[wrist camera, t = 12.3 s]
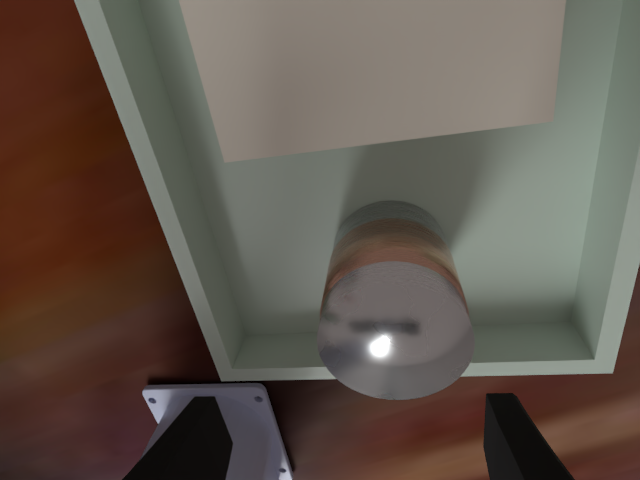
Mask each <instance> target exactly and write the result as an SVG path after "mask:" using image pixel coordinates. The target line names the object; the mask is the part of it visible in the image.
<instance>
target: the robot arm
mask: <svg viewBox="0 0 640 480" xmlns="http://www.w3.org/2000/svg"><path fill="white" fill-rule="evenodd" d="M142 394H143V396H144V398H145V400H146V402H147V404H148V406H149V408H150V410H151V411H152V413H153V415H154V417H155V419H156V421H157V423H158V426H157V428H156V429H155V431H154V433H153V435H152V437H151V439H150V441H149V443H148V445H147V447H146V448H145V450H144V452H143V454H142V456H141V458H140V460H139V462H138V463H137V464H136V465H135V466H134V467H133V468H132V470H131V471H130V472H129V473H128V474H127V475H126V476H125V477H124V478H123V479H122V480H293V472H292V469H291V466H290V463H289V460H288V456H287V453H286V450H285V447H284V444H283V441H282V438H281V434H280V431H279V428H278V425H277V422H276V419H275V416H274V412H273V409H272V406H271V403H270V400H269V397H268V393H267V390H266V388H265V386H263V385H262V384H260V383H227V384H177V385H147V386H146V387H145V388H144V390H143V391H142ZM484 452H485V457H486V462H487V467H488V472H489V477H490V480H575V479H574V478H573V477H572V475H571V474H570V473H569V472H568V470H567V469H566V468H565V466H564V465H563V464H562V462H561V461H560V460H559V458H558V457H557V456H556V454H555V453H554V452H553V450H552V449H551V447H550V446H549V445H548V443H547V442H546V440H545V439H544V437H543V436H542V435H541V433H540V432H539V430H538V429H537V427H536V426H535V424H534V423H533V421H532V420H531V418H530V417H529V415H528V414H527V412H526V411H525V409H524V408H523V406H522V404H521V403H520V401H519V399H518V398H517V396H515V395H514V394H513V393H492V394H486V408H485V427H484Z"/></svg>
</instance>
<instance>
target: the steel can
mask: <svg viewBox="0 0 640 480" xmlns="http://www.w3.org/2000/svg"><path fill="white" fill-rule="evenodd" d="M317 347H318V351H319V355H320V357H321V359H322V361H323V363H324V365H325V366H326V368H327V369H328V371H329V372H330V373H331V374H332V375H333V376H334V377H335V378H336V379H337V380H339V381H340V382H341V383H343V384H344V385H346V386H347V387H349V388H351V389H353V390H355V391H357V392H360V393H362V394H365V395H368V396H372V397H376V398H381V399H389V400H405V399H414V398H420V397H424V396H428V395H430V394H433V393H436V392H438V391H440V390H442V389H444V388H446V387H448V386H449V385H451V384H452V383H453V382H455V381H456V380H457V379H458V378H459V377H460V376H461V375H462V374H463V373H464V372H465V370H466V369H467V367H468V366H469V364H470V362H471V360H472V357H473V353H474V348H475V338H474V333H473V329H472V325H471V322H470V319H469V311H468V307H467V303H466V300H465V296H464V293H463V290H462V287H461V283H460V280H459V277H458V273H457V270H456V267H455V264H454V260H453V257H452V254H451V252H450V250H449V248H448V245H447V242H446V238H445V235H444V233H443V230H442V228H441V226H440V225H439V223H438V222H437V221H436V220H435V218H434V217H433V216H431V215H430V214H429V213H428V212H427V211H425V210H423V209H422V208H420V207H418V206H416V205H413V204H410V203H407V202H402V201H393V200H391V201H380V202H375V203H371V204H368V205H366V206H363V207H361V208H360V209H358V210H356V211H355V212H353V213H352V214H351V215H349V216H348V217H347V218H346V219H345V221H344V222H343V223H342V225H341V226H340V228H339V230H338V232H337V234H336V237H335V241H334V246H333V252H332V255H331V257H330V262H329V267H328V272H327V277H326V282H325V288H324V293H323V298H322V303H321V309H320V322H319V327H318V333H317Z"/></svg>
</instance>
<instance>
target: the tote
mask: <svg viewBox="0 0 640 480" xmlns="http://www.w3.org/2000/svg"><path fill="white" fill-rule="evenodd" d="M74 1H75V4H76V6H77V9H78V12H79V14H80V17H81V19H82V22H83V24H84V27H85V30H86V32H87V35H88V37H89V40H90V43H91V45H92V48H93V50H94V53H95V56H96V58H97V61H98V63H99V66H100V68H101V71H102V74H103V76H104V79H105V81H106V84H107V87H108V89H109V92H110V94H111V97H112V100H113V102H114V105H115V107H116V110H117V113H118V115H119V118H120V120H121V123H122V125H123V128H124V131H125V133H126V136H127V138H128V141H129V144H130V146H131V149H132V151H133V154H134V157H135V159H136V162H137V164H138V167H139V169H140V172H141V175H142V177H143V180H144V182H145V185H146V188H147V190H148V193H149V195H150V198H151V201H152V203H153V206H154V208H155V211H156V214H157V216H158V219H159V221H160V224H161V226H162V229H163V232H164V234H165V237H166V239H167V242H168V245H169V247H170V250H171V252H172V255H173V258H174V260H175V263H176V265H177V268H178V271H179V273H180V276H181V278H182V281H183V283H184V286H185V289H186V291H187V294H188V296H189V299H190V302H191V304H192V307H193V309H194V312H195V315H196V317H197V320H198V322H199V325H200V327H201V330H202V333H203V335H204V338H205V340H206V343H207V346H208V348H209V351H210V353H211V356H212V359H213V361H214V364H215V366H216V369H217V372H218V374H219V377H220V379H221V381H262V380H310V379H336V378H335V377H334V376H333V375H332V374H331V373H330V372H329V371H328V369H327V368H326V366H325V365H324V363H323V361H322V359H321V357H320V355H319V351H318V347H317V333H318V327H319V322H320V309H321V303H322V298H323V293H324V288H325V282H326V277H327V272H328V267H329V262H330V257H331V255H332V252H333V246H334V241H335V237H336V234H337V232H338V230H339V228H340V226H341V225H342V223H343V222H344V221H345V219H346V218H347V217H348V216H349V215H351V214H352V213H353V212H355V211H356V210H358V209H360V208H361V207H363V206H366V205H368V204H371V203H375V202H380V201H391V200H393V201H402V202H407V203H410V204H413V205H416V206H418V207H420V208H422V209H423V210H425V211H427V212H428V213H429V214H430V215H431V216H433V217H434V218H435V220H436V221H437V222H438V223H439V225H440V226H441V228H442V230H443V233H444V235H445V238H446V242H447V245H448V248H449V250H450V252H451V254H452V257H453V260H454V264H455V267H456V270H457V273H458V277H459V280H460V283H461V287H462V290H463V293H464V296H465V300H466V303H467V307H468V311H469V319H470V322H471V325H472V329H473V333H474V338H475V348H474V353H473V357H472V360H471V362H470V364H469V366H468V367H467V369H466V370H465V372H464V373H463V374H462V375H461V376H502V375H550V374H598V373H613V370H614V366H615V362H616V358H617V354H618V350H619V346H620V342H621V337H622V333H623V329H624V325H625V321H626V317H627V313H628V309H629V305H630V300H631V296H632V292H633V288H634V284H635V280H636V276H637V272H638V268H639V263H640V0H566V5H565V15H564V24H563V34H562V43H561V53H560V62H559V71H558V81H557V90H556V100H555V109H554V119H553V122H546V123H538V124H530V125H522V126H514V127H506V128H498V129H490V130H482V131H474V132H466V133H458V134H450V135H442V136H434V137H426V138H418V139H410V140H402V141H394V142H386V143H378V144H370V145H362V146H354V147H346V148H338V149H330V150H322V151H314V152H306V153H298V154H290V155H282V156H274V157H266V158H258V159H250V160H242V161H234V162H226V163H224V159H223V156H222V152H221V149H220V145H219V142H218V138H217V134H216V131H215V127H214V124H213V120H212V117H211V113H210V110H209V106H208V103H207V99H206V95H205V92H204V88H203V85H202V81H201V78H200V74H199V71H198V67H197V63H196V60H195V56H194V53H193V49H192V46H191V42H190V39H189V35H188V31H187V28H186V24H185V21H184V17H183V14H182V10H181V7H180V3H179V0H74Z"/></svg>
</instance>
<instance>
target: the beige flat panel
mask: <svg viewBox="0 0 640 480" xmlns="http://www.w3.org/2000/svg"><path fill="white" fill-rule="evenodd" d="M179 3H180V7H181V10H182V14H183V17H184V21H185V24H186V28H187V31H188V35H189V39H190V42H191V46H192V49H193V53H194V56H195V60H196V63H197V67H198V71H199V74H200V78H201V81H202V85H203V88H204V92H205V95H206V99H207V103H208V106H209V110H210V113H211V117H212V120H213V124H214V127H215V131H216V134H217V138H218V142H219V145H220V149H221V152H222V156H223V159H224V163H226V162H234V161H242V160H250V159H258V158H266V157H274V156H282V155H290V154H298V153H306V152H314V151H322V150H330V149H338V148H346V147H354V146H362V145H370V144H378V143H386V142H394V141H402V140H410V139H418V138H426V137H434V136H442V135H450V134H458V133H466V132H474V131H482V130H490V129H498V128H506V127H514V126H522V125H530V124H538V123H546V122H553V119H554V109H555V100H556V90H557V81H558V71H559V62H560V53H561V43H562V34H563V24H564V15H565V5H566V0H179Z"/></svg>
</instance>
